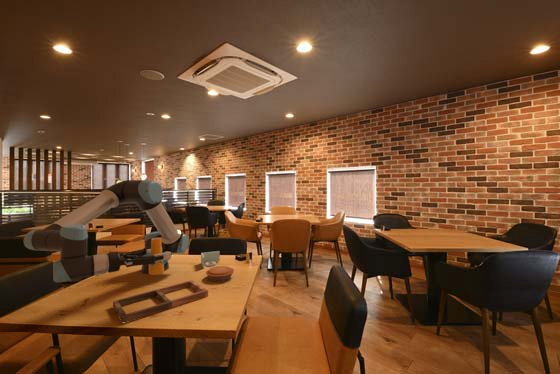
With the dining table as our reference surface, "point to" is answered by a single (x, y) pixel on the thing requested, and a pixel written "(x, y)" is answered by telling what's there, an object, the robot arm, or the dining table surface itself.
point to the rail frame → (160, 295)
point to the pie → (220, 273)
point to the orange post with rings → (155, 249)
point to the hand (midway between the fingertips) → (166, 252)
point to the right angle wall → (210, 258)
